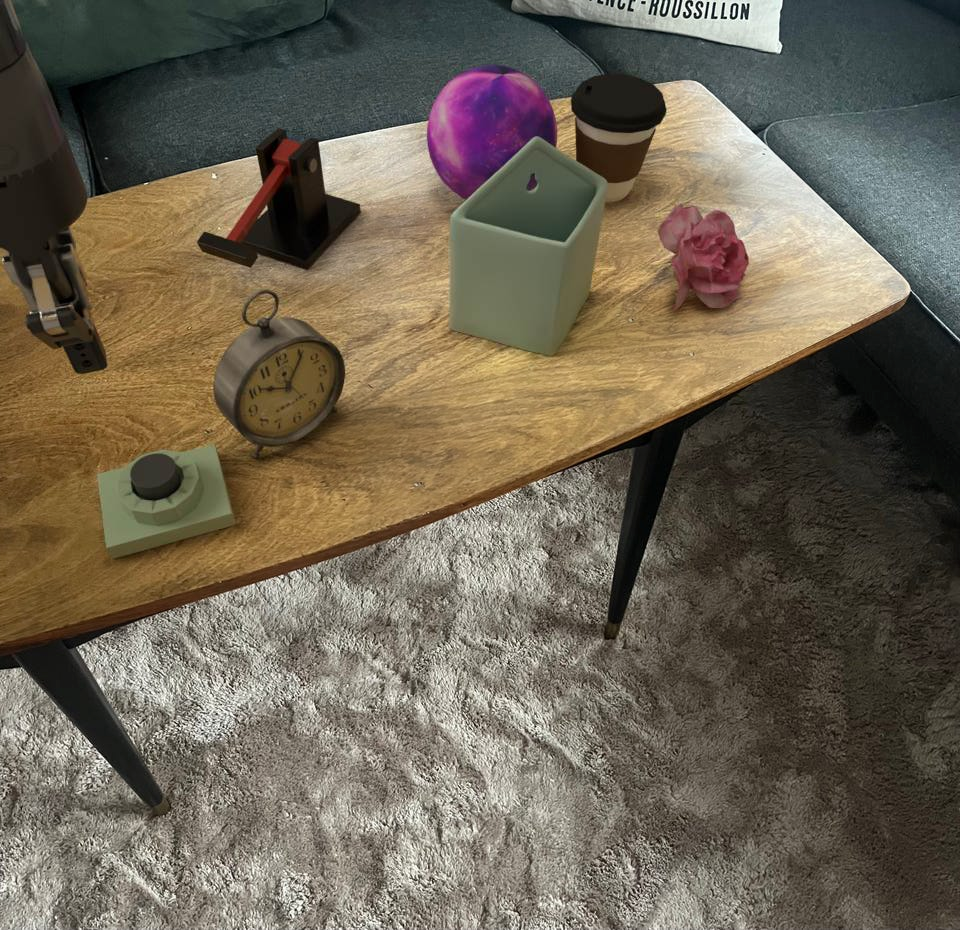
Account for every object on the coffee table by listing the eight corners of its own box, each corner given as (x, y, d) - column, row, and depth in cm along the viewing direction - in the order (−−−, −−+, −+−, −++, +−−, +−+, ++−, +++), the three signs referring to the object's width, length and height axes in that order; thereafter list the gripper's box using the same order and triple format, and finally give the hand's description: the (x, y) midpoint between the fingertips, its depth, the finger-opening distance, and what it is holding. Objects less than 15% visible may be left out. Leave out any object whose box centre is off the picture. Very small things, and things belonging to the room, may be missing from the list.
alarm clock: (253, 476, 73) (212, 340, 61) (222, 440, 76) (176, 302, 63) (354, 417, 78) (336, 280, 65) (321, 385, 80) (298, 247, 68)
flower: (741, 311, 94) (780, 288, 84) (657, 327, 93) (686, 305, 83) (720, 214, 95) (756, 179, 85) (636, 229, 94) (663, 195, 84)
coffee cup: (553, 206, 100) (564, 111, 91) (567, 158, 107) (579, 65, 98) (643, 220, 99) (664, 125, 90) (652, 171, 106) (672, 78, 96)
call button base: (112, 559, 68) (98, 535, 65) (103, 485, 72) (89, 460, 69) (236, 524, 70) (227, 500, 67) (219, 455, 75) (210, 430, 72)
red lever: (252, 271, 84) (244, 255, 82) (203, 254, 86) (194, 239, 83) (322, 164, 90) (317, 147, 87) (275, 150, 91) (268, 133, 89)
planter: (477, 377, 82) (485, 203, 66) (448, 326, 86) (448, 152, 71) (622, 336, 86) (661, 164, 71) (587, 290, 91) (616, 118, 75)
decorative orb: (526, 243, 95) (537, 120, 84) (407, 212, 99) (402, 88, 87) (566, 176, 104) (581, 56, 93) (456, 149, 107) (457, 30, 96)
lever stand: (307, 270, 91) (292, 183, 83) (238, 247, 93) (217, 160, 85) (360, 212, 98) (352, 126, 90) (295, 192, 100) (281, 107, 92)
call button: (139, 505, 67) (132, 492, 66) (133, 472, 69) (127, 459, 68) (184, 493, 68) (179, 480, 67) (177, 461, 70) (172, 448, 69)
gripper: (-81, 89, 48) (32, 317, 62) (-92, 216, 41) (39, 445, 54) (56, 72, 50) (136, 297, 64) (70, 191, 43) (158, 418, 56)
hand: (92, 365), depth 59 cm, fingers closed
